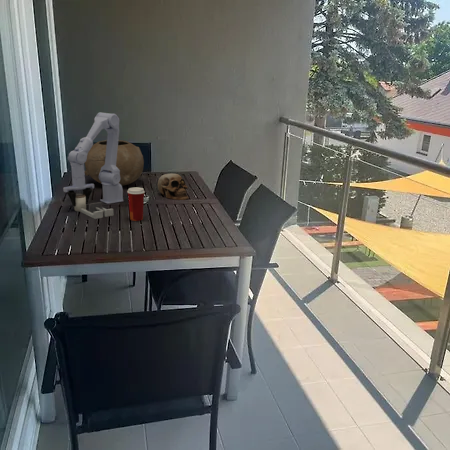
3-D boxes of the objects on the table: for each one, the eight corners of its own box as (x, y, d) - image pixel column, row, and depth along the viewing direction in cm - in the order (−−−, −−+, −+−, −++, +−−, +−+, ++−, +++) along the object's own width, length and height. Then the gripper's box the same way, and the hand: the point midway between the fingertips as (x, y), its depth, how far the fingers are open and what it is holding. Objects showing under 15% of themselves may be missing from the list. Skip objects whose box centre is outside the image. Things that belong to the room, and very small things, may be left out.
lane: (98, 208, 217) (98, 202, 216) (113, 215, 208) (113, 209, 207) (80, 211, 211) (80, 205, 210) (94, 219, 201) (94, 212, 200)
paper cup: (148, 218, 206) (147, 188, 202) (139, 222, 199) (139, 191, 195) (133, 215, 208) (132, 186, 204) (124, 220, 202) (123, 189, 197)
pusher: (101, 211, 212) (101, 201, 211) (109, 214, 207) (109, 205, 206) (89, 213, 208) (88, 203, 206) (97, 217, 203) (96, 207, 201)
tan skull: (187, 200, 238) (185, 175, 234) (155, 201, 239) (152, 177, 236) (191, 194, 253) (189, 170, 249) (161, 195, 254) (158, 172, 251)
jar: (83, 207, 218) (82, 193, 216) (88, 210, 214) (87, 195, 212) (72, 209, 214) (71, 194, 212) (77, 211, 210) (76, 197, 208)
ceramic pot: (117, 175, 289) (116, 136, 281) (155, 184, 270) (155, 142, 263) (74, 183, 263) (71, 140, 255) (112, 194, 244) (110, 147, 237)
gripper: (88, 173, 217) (90, 200, 221) (59, 176, 207) (61, 205, 211) (95, 176, 212) (97, 203, 216) (66, 179, 202) (68, 208, 206)
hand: (80, 204), depth 213 cm, fingers closed on jar, 5 cm apart
